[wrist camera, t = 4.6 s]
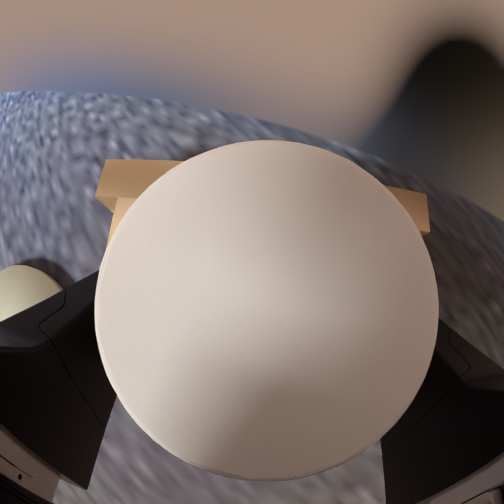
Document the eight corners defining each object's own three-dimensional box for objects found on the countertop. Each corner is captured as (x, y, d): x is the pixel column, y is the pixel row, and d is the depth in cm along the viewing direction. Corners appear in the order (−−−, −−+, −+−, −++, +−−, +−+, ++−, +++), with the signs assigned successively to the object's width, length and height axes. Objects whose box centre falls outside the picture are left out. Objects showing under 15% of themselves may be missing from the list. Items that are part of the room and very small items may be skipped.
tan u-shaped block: (380, 402, 15) (418, 421, 10) (106, 375, 15) (66, 387, 11) (390, 222, 17) (426, 194, 13) (134, 195, 17) (106, 159, 13)
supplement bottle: (189, 261, 17) (70, 109, 4) (308, 255, 17) (434, 102, 4) (194, 382, 15) (68, 507, 3) (316, 375, 15) (476, 471, 3)
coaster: (37, 437, 13) (29, 441, 12) (-29, 330, 15) (-37, 329, 14) (111, 350, 15) (104, 351, 14) (30, 238, 17) (22, 234, 16)
